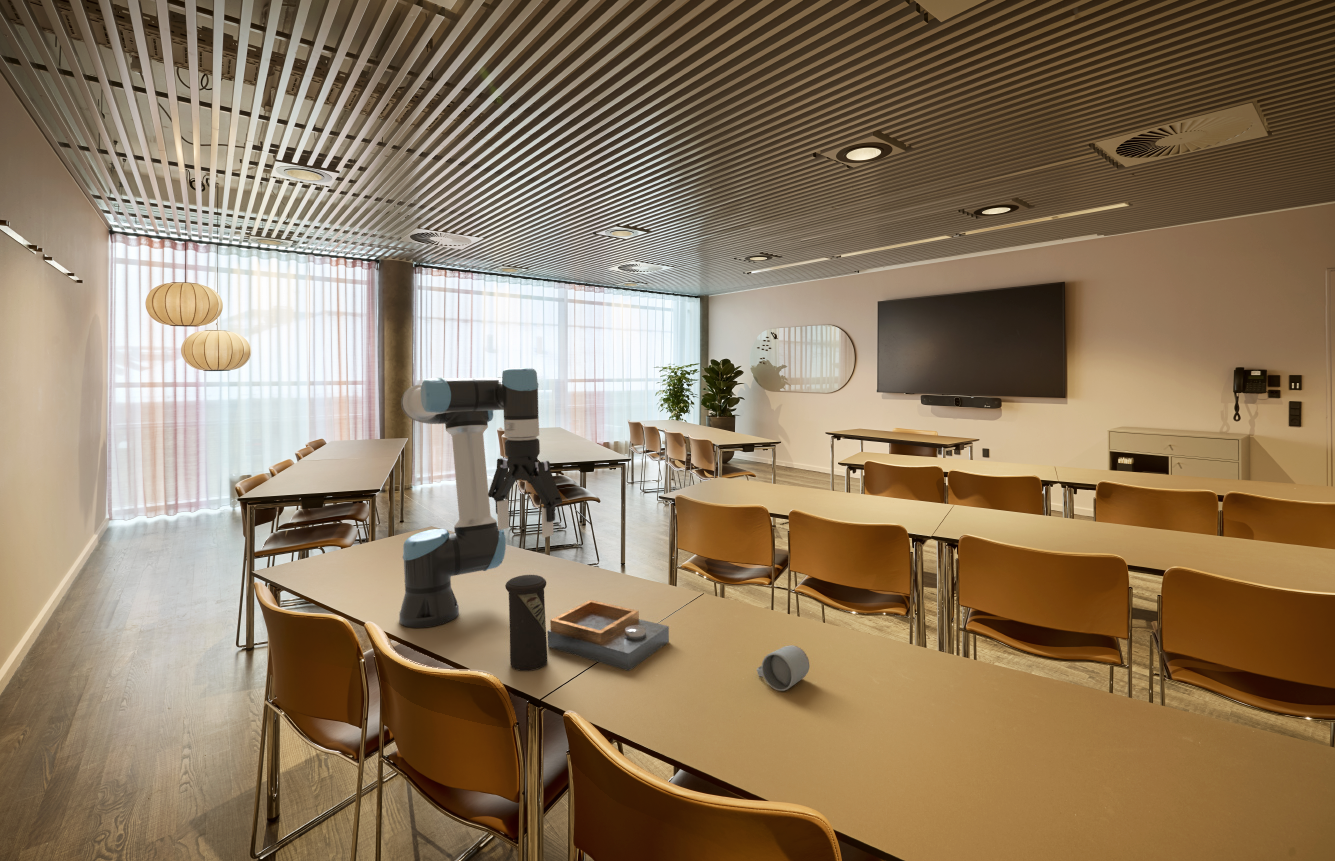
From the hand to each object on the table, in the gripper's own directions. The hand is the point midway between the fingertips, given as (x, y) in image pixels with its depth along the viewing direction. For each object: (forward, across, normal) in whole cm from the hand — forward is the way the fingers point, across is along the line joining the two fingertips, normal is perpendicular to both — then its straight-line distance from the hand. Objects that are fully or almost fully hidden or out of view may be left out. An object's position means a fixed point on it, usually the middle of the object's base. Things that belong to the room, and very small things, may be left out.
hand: (525, 532), depth 136 cm
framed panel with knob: (+30, +10, +17) cm, 36 cm away
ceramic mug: (+31, +53, +21) cm, 64 cm away
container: (+31, 0, 0) cm, 31 cm away
